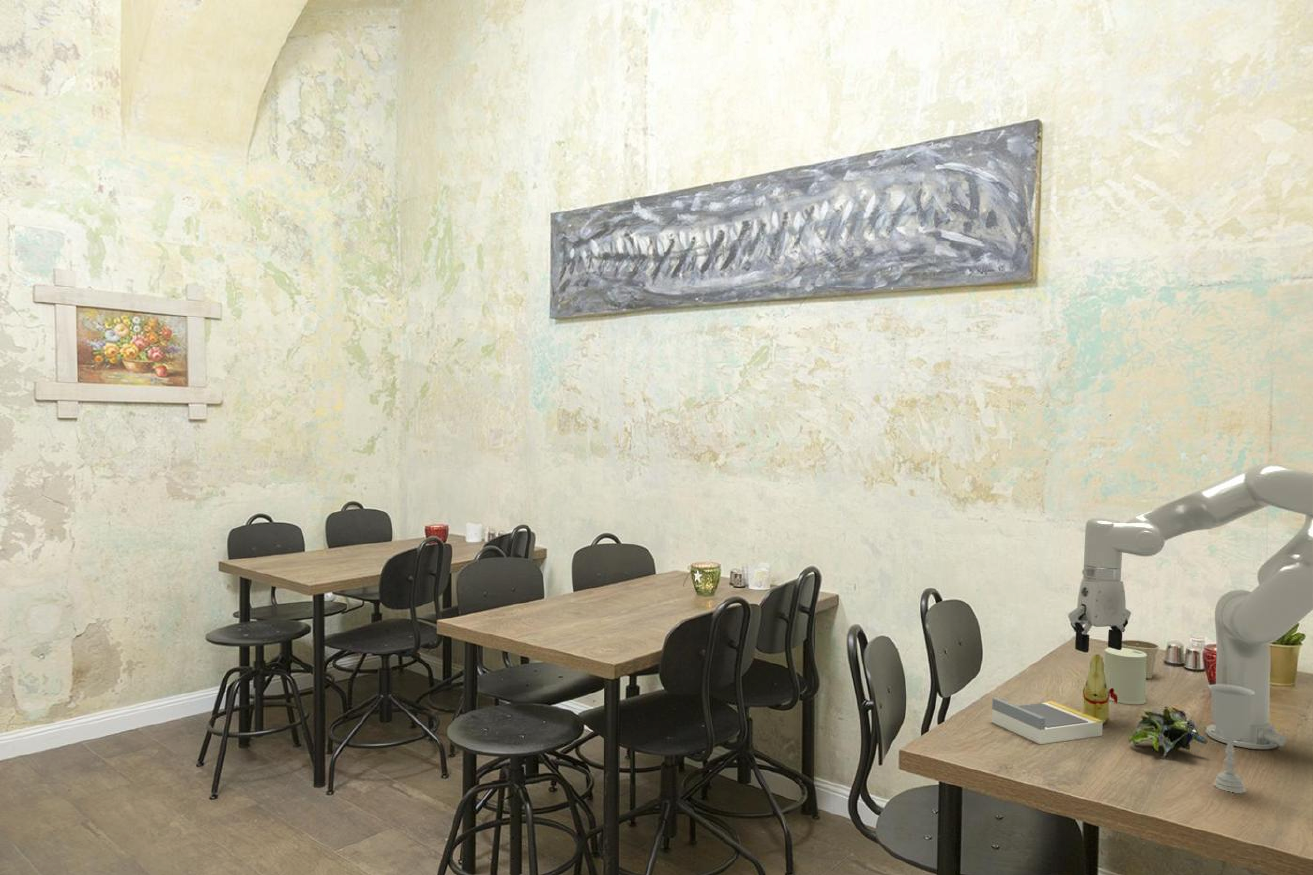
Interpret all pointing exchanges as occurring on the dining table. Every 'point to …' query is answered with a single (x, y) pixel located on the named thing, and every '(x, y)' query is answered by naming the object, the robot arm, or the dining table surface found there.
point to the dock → (1045, 721)
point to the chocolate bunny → (1097, 691)
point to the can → (1126, 675)
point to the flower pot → (1146, 648)
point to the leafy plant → (1167, 729)
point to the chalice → (1230, 727)
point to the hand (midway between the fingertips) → (1098, 649)
